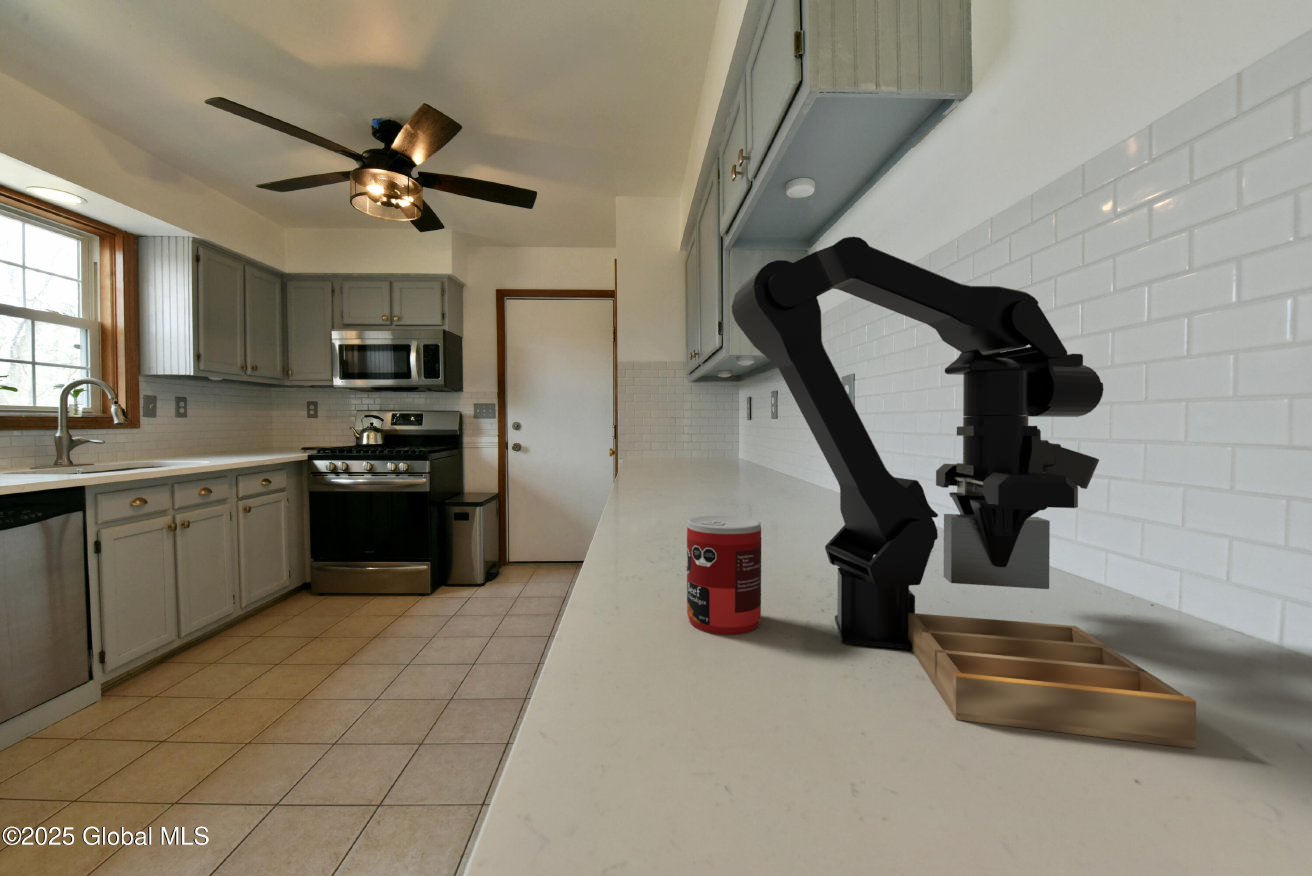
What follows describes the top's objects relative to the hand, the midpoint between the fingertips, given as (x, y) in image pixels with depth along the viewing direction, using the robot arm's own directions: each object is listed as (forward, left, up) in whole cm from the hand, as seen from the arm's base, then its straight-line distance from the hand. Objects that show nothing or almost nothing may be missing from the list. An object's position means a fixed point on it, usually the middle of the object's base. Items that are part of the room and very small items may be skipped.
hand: (994, 563), depth 53 cm
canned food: (-28, -6, -7) cm, 29 cm away
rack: (-3, -14, -7) cm, 15 cm away
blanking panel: (0, 0, -2) cm, 2 cm away
